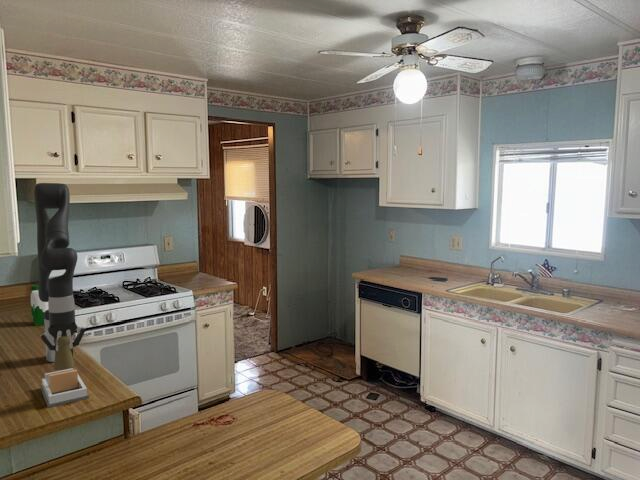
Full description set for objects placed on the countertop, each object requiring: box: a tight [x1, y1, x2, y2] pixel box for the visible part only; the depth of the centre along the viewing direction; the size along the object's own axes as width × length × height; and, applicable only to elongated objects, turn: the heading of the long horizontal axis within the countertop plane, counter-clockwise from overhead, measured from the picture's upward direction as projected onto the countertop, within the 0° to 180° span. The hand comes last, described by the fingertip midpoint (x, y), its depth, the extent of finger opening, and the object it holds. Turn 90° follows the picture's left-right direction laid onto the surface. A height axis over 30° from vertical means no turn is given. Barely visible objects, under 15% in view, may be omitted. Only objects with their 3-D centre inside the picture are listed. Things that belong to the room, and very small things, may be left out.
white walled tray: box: [40, 367, 90, 408], centre depth 164 cm, size 18×12×5 cm, turn 36°
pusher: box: [49, 369, 79, 393], centre depth 164 cm, size 4×8×6 cm, turn 126°
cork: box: [53, 335, 75, 371], centre depth 159 cm, size 6×6×11 cm
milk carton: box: [30, 284, 49, 327], centre depth 245 cm, size 9×9×20 cm
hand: (64, 359), depth 159 cm, fingers closed on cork, 2 cm apart
